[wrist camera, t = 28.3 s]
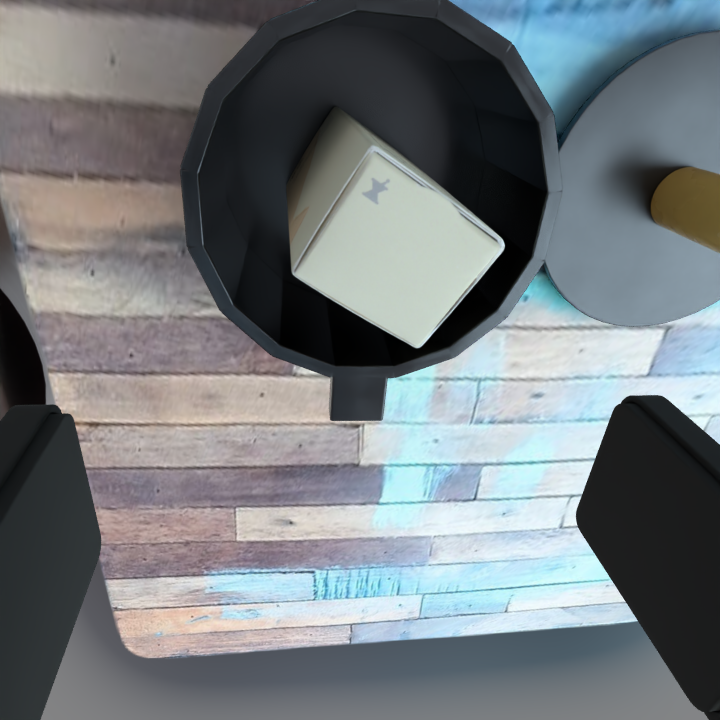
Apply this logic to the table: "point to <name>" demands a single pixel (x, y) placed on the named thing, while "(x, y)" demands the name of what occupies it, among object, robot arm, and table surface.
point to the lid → (643, 190)
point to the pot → (400, 130)
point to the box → (382, 232)
